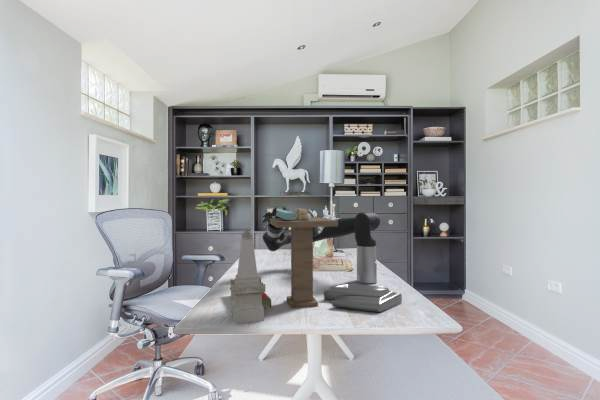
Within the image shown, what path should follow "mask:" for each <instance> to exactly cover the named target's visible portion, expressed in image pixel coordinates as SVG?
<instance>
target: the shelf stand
mask: <svg viewBox="0 0 600 400" xmlns="http://www.w3.org/2000/svg"><path fill="white" fill-rule="evenodd" d="M294 216H295V217H293V220H284V219H282V218H270V224H272V225H273V226H275V227H277V228H283V229H284V228H290V230H291V243H290V272H291V273H290V275H291V277H290V285H291V287H290V288H291V289H290V294H291V295H290V296H289V295H287V296H286V301H287V303H288V305H289V307H290V308H291V309H297V308H312V307H313V308H314V307H318V306H319V302H318V301H317V299H316V298H315V297H314V271H313V259H314V250H313V249H314V246H313V245H314V242H313V227H318V228H324V227H336V226H338V221H336V219H331V218H327V217H309V215H308V209H307V208H306V209H305V208H295V215H294Z"/></svg>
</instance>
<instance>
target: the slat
mask: <svg viewBox="0 0 600 400" xmlns="http://www.w3.org/2000/svg"><path fill="white" fill-rule="evenodd" d="M282 209H283V208H281V209H280V208H279V209H277V212H276V216H278V217H280V218H282V219H284V220H293V218H294V212H292V211H288V210H286V211H285V210H282Z"/></svg>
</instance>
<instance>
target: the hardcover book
mask: <svg viewBox="0 0 600 400" xmlns="http://www.w3.org/2000/svg"><path fill="white" fill-rule="evenodd" d="M229 289H230V297H231V296H232V297H231V298H232V301H233V300H234V294H233V293H232V290H231V286H230V287H229ZM262 305H263V307H264V309H266V308H271V307H272V299H271V297H270V296H268V294H267V293H266V291H265V292H263V293H262Z"/></svg>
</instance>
